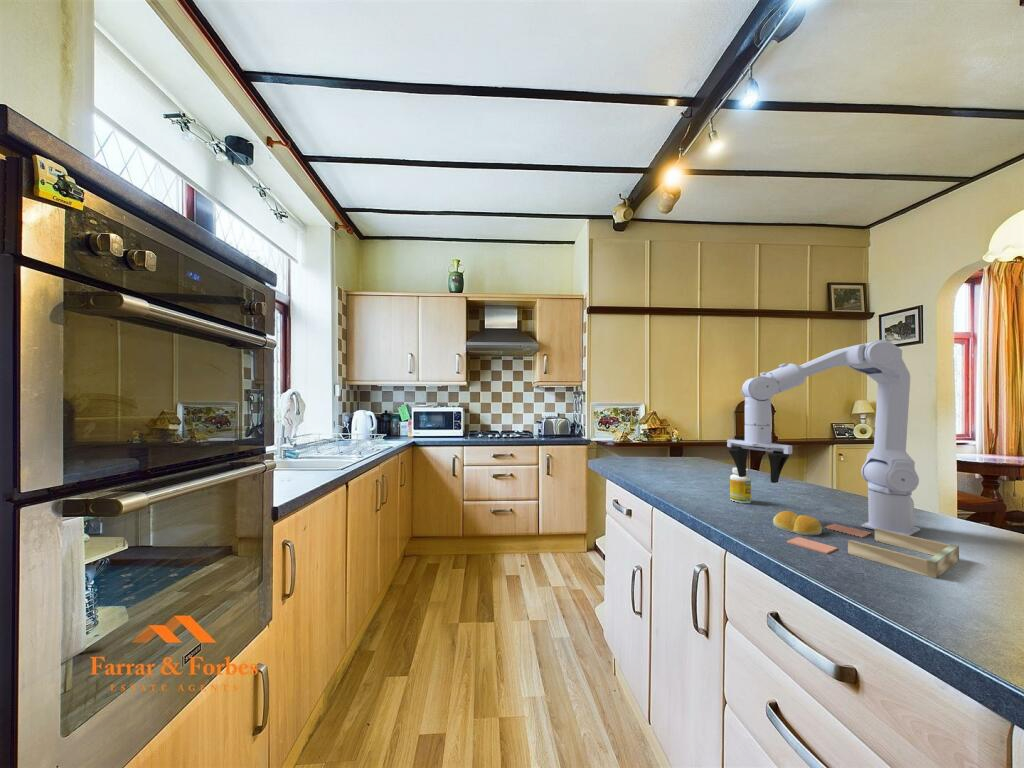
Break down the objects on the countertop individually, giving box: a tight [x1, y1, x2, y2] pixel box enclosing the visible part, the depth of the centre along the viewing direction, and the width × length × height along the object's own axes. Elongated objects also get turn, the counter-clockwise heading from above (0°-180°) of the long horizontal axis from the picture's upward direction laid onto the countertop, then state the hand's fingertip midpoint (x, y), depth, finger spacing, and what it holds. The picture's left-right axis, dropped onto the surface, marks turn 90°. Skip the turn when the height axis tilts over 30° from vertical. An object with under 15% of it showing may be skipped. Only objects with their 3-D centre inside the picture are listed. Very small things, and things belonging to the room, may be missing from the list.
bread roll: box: [772, 510, 823, 536], centre depth 92 cm, size 8×9×4 cm
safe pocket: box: [847, 528, 960, 579], centre depth 76 cm, size 15×12×3 cm
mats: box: [786, 523, 872, 555], centre depth 86 cm, size 23×7×1 cm, turn 121°
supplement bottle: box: [729, 467, 752, 504], centre depth 115 cm, size 5×5×10 cm
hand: (757, 479), depth 99 cm, fingers open, 7 cm apart
